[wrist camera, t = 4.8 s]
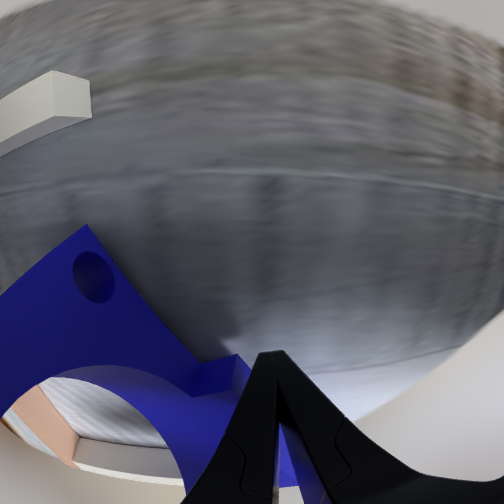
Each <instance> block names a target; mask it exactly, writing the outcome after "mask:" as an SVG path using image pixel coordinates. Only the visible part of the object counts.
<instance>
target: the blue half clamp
mask: <svg viewBox="0 0 504 504" xmlns="http://www.w3.org/2000/svg"><path fill="white" fill-rule="evenodd" d="M250 373H251V369H250V368H249V367H248V365H247V364H246V363H245V362H244V361H243V360H242V359H241V358H240V356H239V355H238V354H235V355H231V356H228V357H225V358H221V359H218V360H214V361H211V362H207V363H203V364H201V363H200V362H199V361H198V360H197V359H196V358H195V357H194V356H193V355H192V354H191V353H190V352H189V351H188V350H187V349H186V348H185V347H184V346H183V344H182V343H181V342H180V341H179V340H178V339H177V338H176V337H175V336H174V335H173V333H172V332H171V331H170V330H169V329H168V328H167V327H166V326H165V325H164V323H163V322H162V321H161V320H160V319H159V318H158V316H157V315H156V314H155V313H154V312H153V311H152V309H151V308H150V307H149V306H148V305H147V303H146V302H145V301H144V300H143V299H142V297H141V296H140V295H139V294H138V292H137V291H136V290H135V289H134V287H133V286H132V285H131V284H130V282H129V281H128V280H127V279H126V277H125V276H124V275H123V273H122V272H121V271H120V269H119V268H118V267H117V266H116V264H115V263H114V261H113V260H112V259H111V257H110V256H109V255H108V253H107V252H106V251H105V249H104V248H103V246H102V245H101V244H100V242H99V241H98V239H97V238H96V236H95V235H94V234H93V232H92V231H91V229H90V228H89V226H88V225H87V224H86V225H85V226H83V227H82V228H81V229H79V230H78V231H77V232H75V233H74V234H73V235H71V236H70V237H69V238H67V239H66V240H65V241H63V242H62V243H61V244H60V245H58V246H57V247H56V248H55V249H53V250H52V251H51V252H50V253H48V254H47V255H46V256H45V257H44V258H42V259H41V260H40V261H39V262H38V263H36V264H35V265H34V266H33V267H32V268H31V269H29V270H28V271H27V272H26V273H25V274H24V275H23V276H21V277H20V278H19V279H18V280H17V281H16V282H15V283H14V284H13V285H12V286H11V287H9V288H8V289H7V290H6V291H5V292H4V293H3V294H2V295H1V296H0V419H1V418H2V416H3V415H4V413H5V412H6V411H7V410H8V409H9V408H10V407H11V406H12V405H13V404H14V403H15V402H16V400H17V399H18V398H20V397H21V396H22V395H24V394H25V393H26V392H27V391H29V390H30V389H31V388H33V387H34V386H36V385H38V384H39V383H41V382H43V381H45V380H46V379H48V378H50V377H65V378H72V379H78V380H82V381H86V382H89V383H92V384H95V385H98V386H100V387H103V388H105V389H107V390H109V391H111V392H113V393H115V394H116V395H118V396H120V397H121V398H123V399H124V400H126V401H127V402H129V403H130V404H131V405H132V406H134V407H135V408H136V409H137V410H138V411H140V412H141V413H142V414H143V415H144V416H145V417H146V418H147V419H148V420H149V421H150V423H151V424H152V425H153V426H154V427H155V428H156V430H157V431H158V432H159V433H160V435H161V436H162V438H163V439H164V441H165V442H166V444H167V445H168V447H169V449H170V451H171V452H172V454H173V456H174V458H175V460H176V463H177V465H178V468H179V470H180V473H181V476H182V479H183V483H184V487H185V491H186V495H187V494H188V493H189V491H190V490H191V488H192V487H193V486H194V484H195V483H196V481H197V480H198V479H199V477H200V476H201V474H202V473H203V471H204V470H205V468H206V467H207V465H208V463H209V462H210V460H211V459H212V457H213V455H214V453H215V451H216V449H217V447H218V445H219V443H220V441H221V439H222V436H223V435H224V432H225V430H226V428H227V426H228V424H229V421H230V419H231V417H232V415H233V412H234V410H235V408H236V405H237V403H238V401H239V399H240V396H241V394H242V392H243V389H244V387H245V385H246V382H247V380H248V377H249V375H250ZM291 486H299V485H298V482H297V479H296V475H295V472H294V469H293V466H292V462H291V459H290V456H289V452H288V449H287V446H286V442H285V439H284V435H283V432H282V429H281V425H280V456H279V488H281V487H291Z"/></svg>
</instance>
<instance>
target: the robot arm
mask: <svg viewBox="0 0 504 504" xmlns="http://www.w3.org/2000/svg"><path fill="white" fill-rule="evenodd" d="M280 425H281V429H282V432H283V435H284V439H285V442H286V446H287V449H288V452H289V456H290V459H291V462H292V466H293V469H294V472H295V475H296V479H297V482H298V485H299V488H300V491H301V495H302V498H303V501H304V504H504V476H502V477H501V478H498V479H496V480H492V481H484V482H479V481H467V480H458V479H449V478H443V477H436V476H431V475H426V474H423V473H420V472H418V471H415V470H413V469H411V468H410V467H408V466H407V465H405V464H404V463H402V462H401V461H400V460H398V459H397V458H395V457H394V456H392V455H391V454H390V453H388V452H387V451H385V450H384V449H383V448H381V447H380V446H378V445H377V444H376V443H374V442H373V441H372V440H371V439H369V438H368V437H367V436H366V435H365V434H363V433H362V432H361V431H360V430H359V429H358V428H357V427H356V426H355V425H354V424H353V423H352V422H351V421H350V420H349V419H348V418H347V417H345V415H344V414H343V413H342V412H341V411H340V410H339V409H338V408H337V407H336V406H335V405H334V404H333V403H332V402H331V401H330V400H329V399H328V398H327V396H326V395H325V394H324V393H323V392H322V391H321V390H320V389H319V388H318V387H317V386H316V385H315V384H314V383H313V382H312V381H311V380H310V378H309V377H308V376H307V375H306V374H305V373H304V372H303V371H302V370H301V369H300V368H299V367H298V366H297V364H296V363H295V362H294V361H293V360H292V359H291V358H290V357H289V356H288V355H287V354H286V352H285V351H283V350H277V351H271V352H270V351H269V352H261V353H259V354H258V356H257V358H256V361H255V363H254V366H253V368H252V370H251V373H250V375H249V377H248V380H247V382H246V385H245V387H244V389H243V392H242V394H241V396H240V399H239V401H238V403H237V405H236V408H235V410H234V412H233V415H232V417H231V419H230V421H229V424H228V426H227V428H226V430H225V432H224V435H223V436H222V439H221V441H220V443H219V445H218V447H217V449H216V451H215V453H214V455H213V457H212V459H211V460H210V462H209V463H208V465H207V467H206V468H205V470H204V471H203V473H202V474H201V476H200V477H199V479H198V480H197V481H196V483H195V484H194V486H193V487H192V488H191V490H190V491H189V493H188V494H187V495H186V497H185V498H184V499H183V501H182V502H181V503H180V504H278V503H279V456H280Z"/></svg>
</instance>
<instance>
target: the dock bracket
mask: <svg viewBox="0 0 504 504" xmlns="http://www.w3.org/2000/svg"><path fill="white" fill-rule="evenodd" d="M90 118H92V112H91V100H90V84H89V80H86V79H82V78H79V77H76V76H72V75H69V74H65V73H62V72H58V71H54V70H52V71H50V72H48V73H46V74H44V75H42V76H40V77H38V78H36V79H34V80H32V81H30V82H29V83H27V84H25V85H23V86H22V87H20V88H18V89H17V90H15V91H13V92H12V93H10V94H8V95H7V96H5V97H4V98H2V99H1V100H0V157H1V156H2V155H4V154H6V153H8V152H10V151H12V150H14V149H16V148H18V147H20V146H22V145H25V144H27V143H29V142H31V141H33V140H36V139H38V138H40V137H43V136H45V135H47V134H50V133H52V132H55V131H57V130H60V129H62V128H65V127H67V126H70V125H73V124H76V123H78V122H81V121H84V120H87V119H90ZM11 408H12V409H13V410H14V411H15V412H16V414H17V415H18V416H19V417H20V418H21V419H22V421H23V422H24V423H25V424H26V425H27V426H28V427H29V428H30V429H31V430H32V432H33V433H34V434H35V435H36V436H37V437H38V438H39V439H40V440H41V441H42V442H43V443H44V444H45V445H46V446H47V447H48V448H49V449H50V450H51V451H52V452H54V453H55V454H56V455H57V456H58V457H59V458H60V459H61V460H62V461H63V462H65V463H66V464H67V465H68V466H71V467H75V468H78V469H82V470H86V471H90V472H94V473H98V474H102V475H107V476H112V477H117V478H123V479H129V480H135V481H141V482H149V483H158V484H168V485H182V486H184V483H183V479H182V476H181V473H180V470H179V468H178V465H177V463H176V460H175V458H174V456H173V454H172V452H171V451H170V449H160V448H147V447H137V446H128V445H120V444H113V443H107V442H101V441H95V440H90V439H85V438H80V437H79V436H78V435H77V433H76V432H75V431H74V430H73V429H72V428H71V427H70V426H69V424H68V423H67V422H66V421H65V420H64V418H63V417H62V416H61V415H60V414H59V412H58V411H57V410H56V409H55V407H54V406H53V405H52V403H51V402H50V401H49V400H48V398H47V397H46V396H45V394H44V393H43V391H42V390H41V389H40V387H39V386H38V385H36V386H34V387H33V388H31V389H30V390H29V391H27V392H26V393H25V394H24V395H22V396H21V397H20V398H18V399H17V400H16V402H15V403H14V404H13V405H12V406H11Z"/></svg>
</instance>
